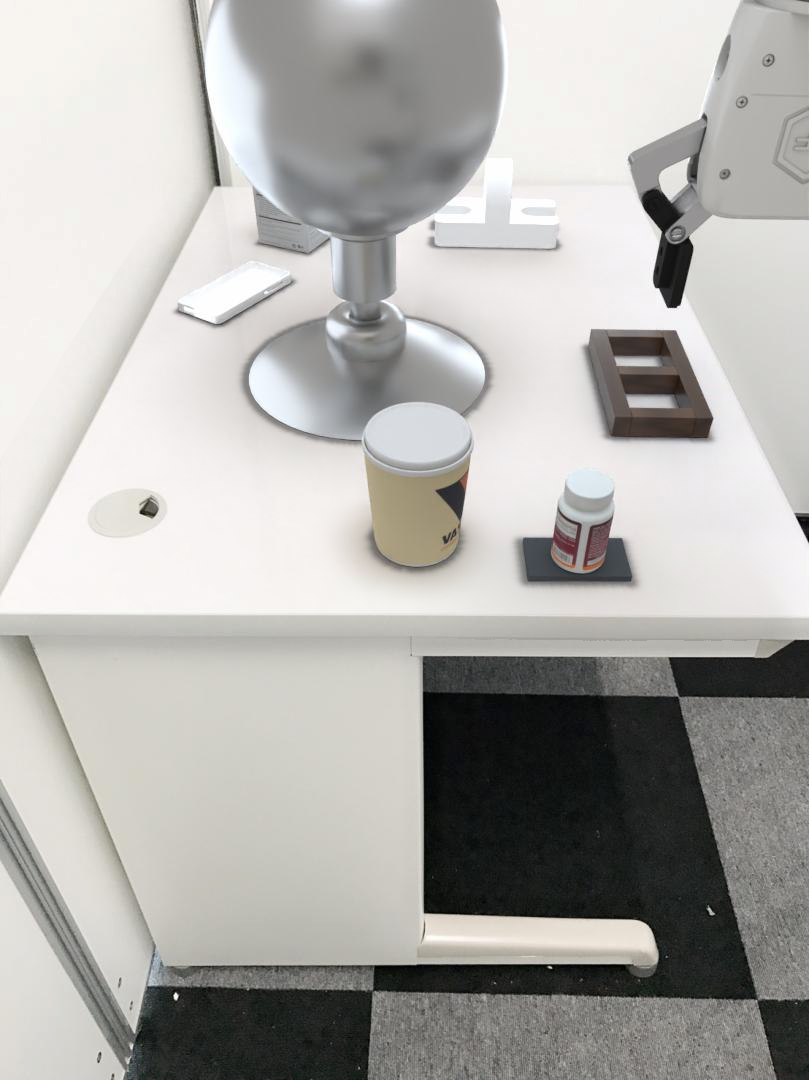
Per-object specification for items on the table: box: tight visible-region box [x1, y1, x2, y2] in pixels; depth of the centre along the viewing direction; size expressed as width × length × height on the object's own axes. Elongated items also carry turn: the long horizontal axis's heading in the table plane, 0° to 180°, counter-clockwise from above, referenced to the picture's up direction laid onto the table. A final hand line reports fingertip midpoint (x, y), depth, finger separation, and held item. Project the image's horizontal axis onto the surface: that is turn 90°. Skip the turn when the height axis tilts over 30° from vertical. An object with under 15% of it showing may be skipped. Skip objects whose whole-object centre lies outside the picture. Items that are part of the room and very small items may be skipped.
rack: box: [587, 328, 714, 438], centre depth 96 cm, size 10×19×2 cm, turn 178°
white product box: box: [251, 184, 330, 254], centre depth 123 cm, size 9×9×15 cm
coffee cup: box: [361, 402, 475, 568], centre depth 74 cm, size 9×9×12 cm
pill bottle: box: [551, 467, 616, 573], centre depth 73 cm, size 5×5×8 cm
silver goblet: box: [204, 0, 509, 441], centre depth 85 cm, size 28×28×45 cm
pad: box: [522, 537, 633, 582], centre depth 76 cm, size 9×5×1 cm, turn 89°
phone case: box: [177, 260, 292, 325], centre depth 113 cm, size 7×1×15 cm
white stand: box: [434, 157, 560, 250], centre depth 125 cm, size 10×18×11 cm, turn 87°
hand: (747, 299), depth 52 cm, fingers open, 9 cm apart
